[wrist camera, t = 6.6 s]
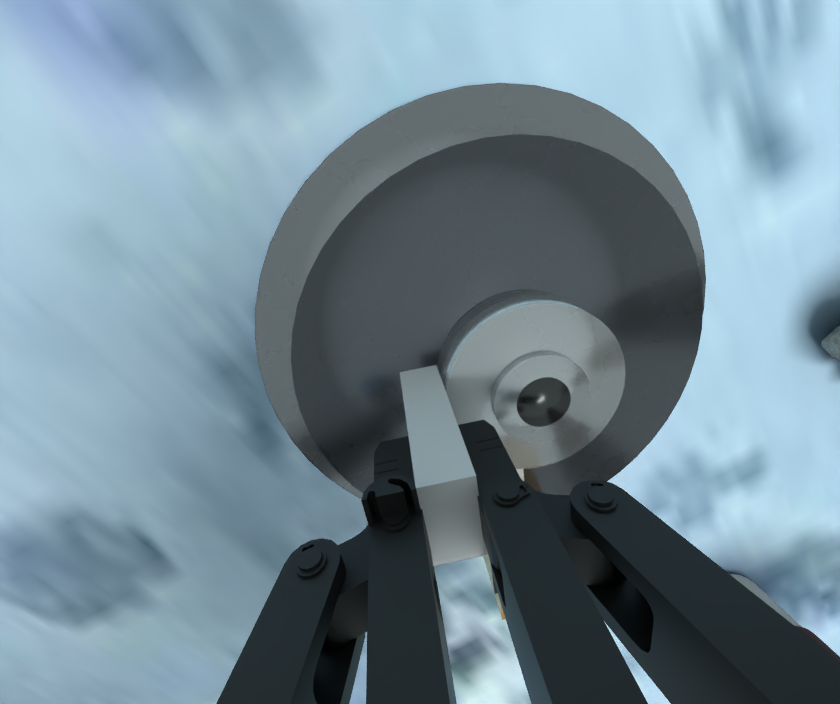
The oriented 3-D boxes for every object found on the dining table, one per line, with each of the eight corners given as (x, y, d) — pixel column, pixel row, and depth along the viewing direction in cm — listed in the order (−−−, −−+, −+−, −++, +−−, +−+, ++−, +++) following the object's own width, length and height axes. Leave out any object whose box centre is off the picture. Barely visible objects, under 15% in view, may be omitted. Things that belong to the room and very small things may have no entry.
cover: (449, 449, 18) (463, 496, 15) (423, 308, 15) (434, 334, 13) (593, 417, 18) (633, 459, 16) (592, 273, 16) (641, 291, 13)
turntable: (362, 559, 23) (358, 651, 18) (242, 185, 15) (182, 181, 10) (653, 497, 24) (720, 570, 19) (689, 105, 16) (821, 68, 11)
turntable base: (327, 545, 23) (326, 554, 23) (179, 138, 15) (172, 136, 14) (674, 471, 24) (682, 478, 24) (725, 44, 16) (738, 38, 15)
